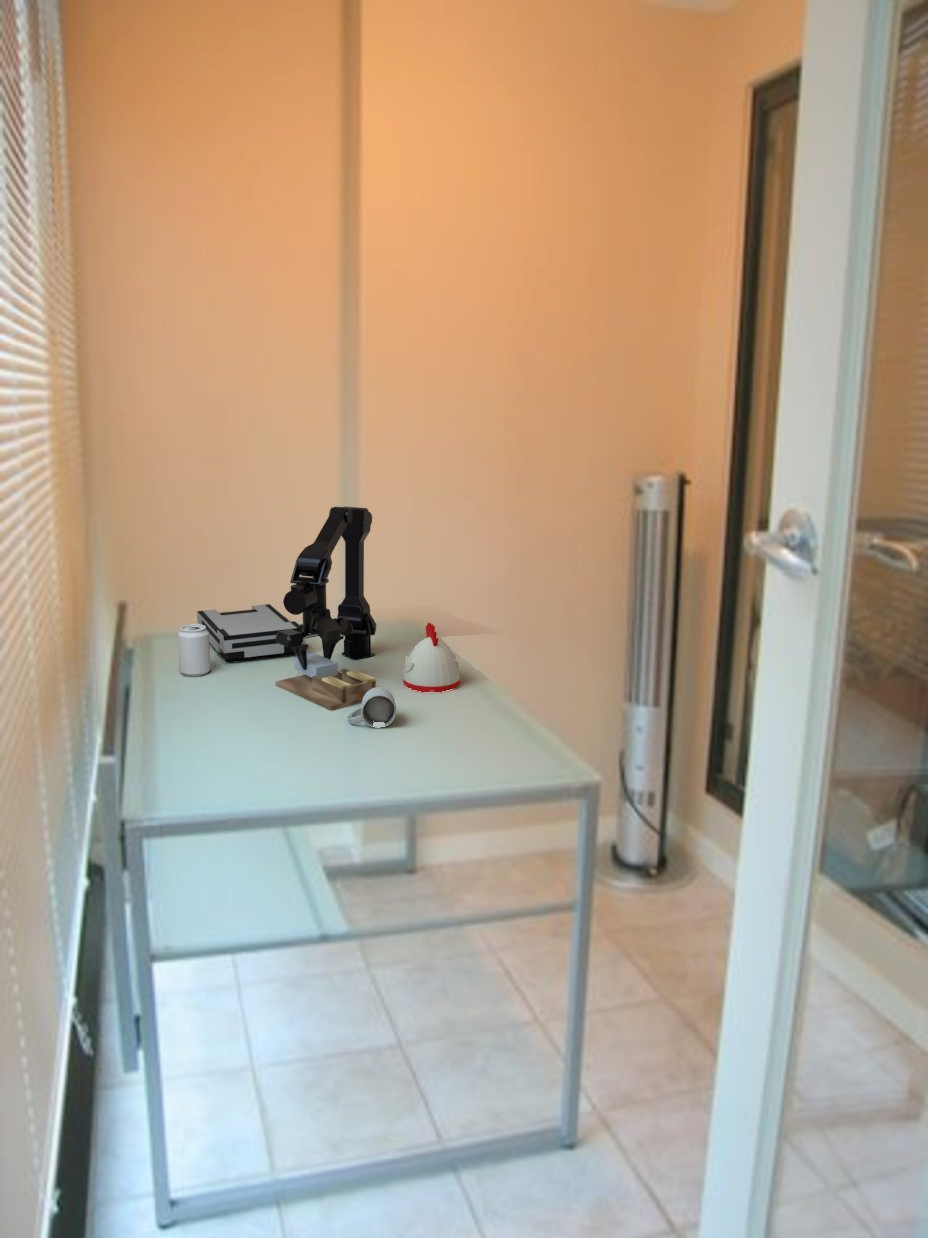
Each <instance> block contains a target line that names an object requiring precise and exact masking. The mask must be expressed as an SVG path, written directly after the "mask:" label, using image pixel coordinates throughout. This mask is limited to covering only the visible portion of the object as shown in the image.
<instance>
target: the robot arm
mask: <svg viewBox="0 0 928 1238" xmlns="http://www.w3.org/2000/svg"><path fill="white" fill-rule="evenodd" d="M372 524H373V515H372V512H370V511H369V509H368V508H367V507H358V506H333V507H331V508H330V509H329V513H328V517H327V519H326V520H325V522H324V524H323V526H322V528H321V529H320V531H319V533H318V534H317V536H316V538H315V539H314V541H313V543H311V544H309V545H307V546H305V547H304V548H303V550H302V551H300V553H299V554H298V556H297V558H296V560H295V563H294V567H293V571H292V574H291V576H290V577H291V578H290V584H291V586H290V590H289V591H288V592H286V594H285V595H284V598H283V606H284V608H285V611H287V613H289V614H291V615H294V616H297V615H298V616H299V615H300V614H302V623H301V624H299V625H300V629H303V631H301V632H297V631H295V630H292V629H288V630H283V631H279V632H278V633H277V635H276V643H278V644H281V645H283V646H286V647H291V648H292V649H293V651H294V652H295V654H296V655H295V656H296V657H297V658H298V660H299V662H300V664H301V666H302V668H303V669H304V670H306V669H307V655H308V654H307V650H308V648H309V646H310V644H307V643H306V639H311V638H315V637H319V638H320V639H321V644H322V646H321V647H322V655H323V657H325V658H327V659H330V660H332V656H333V653H334V651H335V647H336V645H337V644H338V643H339V642H340V641H341V640H343V652H341V655H342V656H344V657H346V658H347V657H348V658H350V659H352V660H361V659H365V658H369V657H374V656H375V653H374V652H372V648H371V647H372V646H371V645H372V643H371V642H372V637H371V636H375V635H376V632H377V623H376V621H375V620H374V617H373V616H372V614H371V605H370V604H369V602H368V601H367V599H366V597H365V593H364V592H365V591H364V590H365V587H364V586H365V575H364V574H365V540H366V539H367V537H368V536H369V535H370V532H371V525H372ZM341 537H342V539H343V541H344V569H345V570H344V573H345V575H344V577H345V578H344V579H345V580H344V586H345V587H344V590H345V591H344V599H343V600H342V602H341V603H340V604H338V606H337V616H336V618H335V617H334V618H332V616H331V611H330V609H329V608H327V584H328V583H329V582H330V580H329V578H328V577H329V575H330V573H331V570H332V565H333V560H332V558H331V557H332V553H333V552H334V550H335V548H336V546H337V544H338V543H339V540H340V539H341Z"/></svg>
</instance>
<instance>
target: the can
mask: <svg viewBox="0 0 928 1238" xmlns="http://www.w3.org/2000/svg"><path fill="white" fill-rule="evenodd" d="M177 643H178V660H179V661H178V663H179V671H180V673H182V674H183V675H184V674H185V675H184V676H186V677H201V676H204V675H206V674H208V673H209V672H210V671H211V669H212V667H211V666H212V665H211V649H210V647H211V644H210V643H209V632H208V631H207V630H206V626H204V625H201V624H198V623H192V624H191V623H190V624H185V625H182V626H180V627H179V632H178V633H177Z"/></svg>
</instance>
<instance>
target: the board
mask: <svg viewBox="0 0 928 1238" xmlns="http://www.w3.org/2000/svg"><path fill="white" fill-rule="evenodd" d="M376 679H377V678H376V677H373V676H370V675H369V674H366V673H363V672H360V671H358V670H356V669H355V670H350V669H347V668H342V669H341V672H339V671H338V675H335V676H329V677H325V678H320V677H318V676H312V677H310V676H307V675H305V674H302V675H298V676H297V675H296V676H293V677H288V678H285V679H284V678H283V679H280V680H276V681H275V686H276V687H278V688H281V689H282V690H285V691H287V692H289V693H291V694H293V695H296V696H298V697H301V698H303V699H304V700H307V701H309V702H311V703H313V704H315V705H318V706H320V707H322V708H324V709H327V710H329V711H330V712H331V711H334V710H338V709H339V710H340V709H342V708H347V707H350V706H354V705H357V704H360V703H361V704H362V700H363V697H364V695H365V694H366V692H367V691H369V690H370V689H372V688H376V687H377V686H376V683H377V682H376V681H377V680H376Z"/></svg>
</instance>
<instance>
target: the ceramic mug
mask: <svg viewBox="0 0 928 1238" xmlns="http://www.w3.org/2000/svg"><path fill="white" fill-rule="evenodd" d="M396 716H397V705H396V700H395V698H394V695H393V694H392V692H391V691H390V690H388V689H387V688H384V687H381V686H376V688H372V689H370V690H369V691H367V692H366V694H365V695H364V697H363V700H362V702H361V706H360V707H359V708H355V709H354V710H352V711H351V712H349V714H347V717H346V719H347V721H348V723H349V725H356V724H359V723H362V722H363V723H365V724H366V725H367V726H369V727H370V726H371V728H373V723H374V722H384V723H385V726H387V727H388V726H390V725H391V724H392V723H393V722H394V721H395V719H396ZM373 721H374V722H373Z"/></svg>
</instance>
